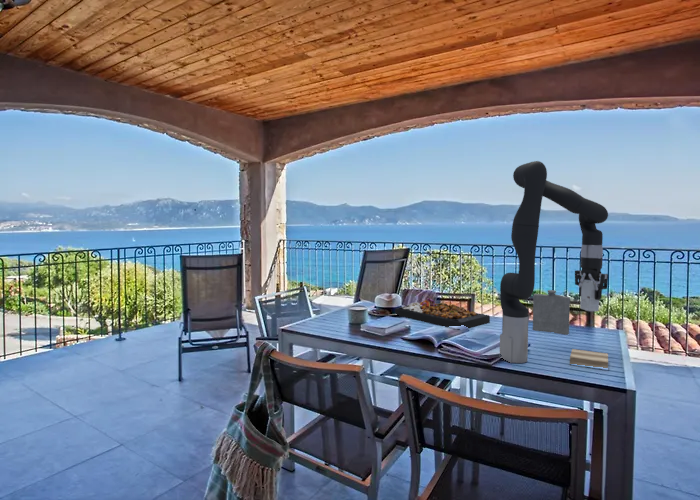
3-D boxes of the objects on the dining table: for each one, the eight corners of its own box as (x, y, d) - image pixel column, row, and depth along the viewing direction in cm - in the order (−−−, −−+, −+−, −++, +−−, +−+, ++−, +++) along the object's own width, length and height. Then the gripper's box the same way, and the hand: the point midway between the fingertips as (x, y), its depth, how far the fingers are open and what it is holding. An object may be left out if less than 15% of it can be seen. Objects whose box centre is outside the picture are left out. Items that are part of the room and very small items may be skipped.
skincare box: (579, 308, 173) (580, 278, 172) (590, 308, 173) (591, 278, 173) (588, 311, 167) (590, 280, 166) (600, 311, 167) (601, 280, 166)
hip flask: (531, 330, 208) (532, 289, 207) (533, 328, 212) (534, 288, 210) (568, 335, 199) (569, 292, 198) (569, 333, 202) (570, 291, 201)
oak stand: (607, 370, 151) (608, 362, 151) (569, 365, 157) (570, 357, 157) (607, 361, 161) (607, 353, 161) (571, 356, 168) (572, 348, 167)
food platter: (394, 316, 243) (395, 298, 242) (423, 310, 258) (423, 293, 258) (460, 331, 208) (461, 310, 208) (489, 324, 224) (490, 304, 223)
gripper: (569, 255, 174) (568, 295, 176) (599, 258, 161) (598, 301, 162) (584, 254, 177) (582, 294, 178) (615, 257, 163) (613, 300, 164)
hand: (590, 297), depth 170 cm, fingers closed on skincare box, 6 cm apart
